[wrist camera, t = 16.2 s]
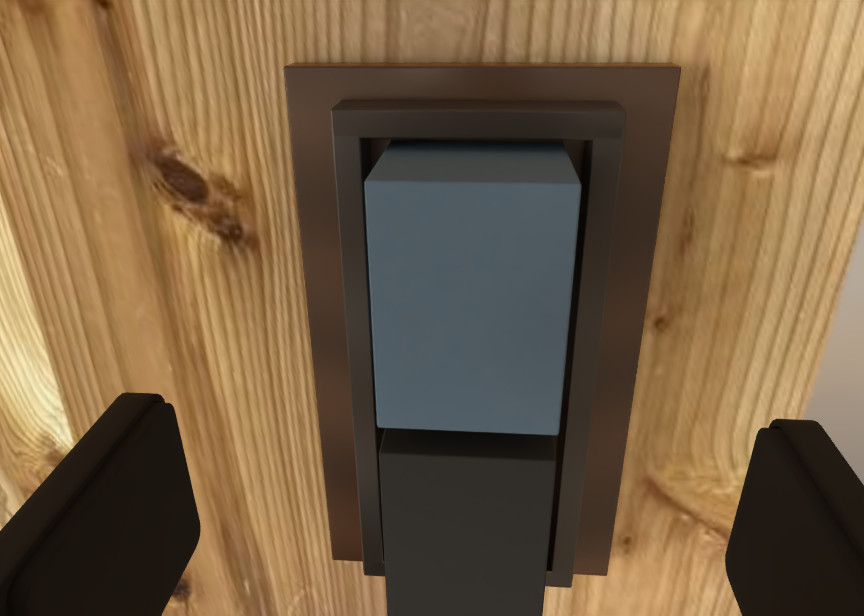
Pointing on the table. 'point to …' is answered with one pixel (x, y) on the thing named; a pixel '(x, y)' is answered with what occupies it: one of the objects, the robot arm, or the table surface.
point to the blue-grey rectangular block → (471, 283)
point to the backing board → (592, 280)
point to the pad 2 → (466, 521)
